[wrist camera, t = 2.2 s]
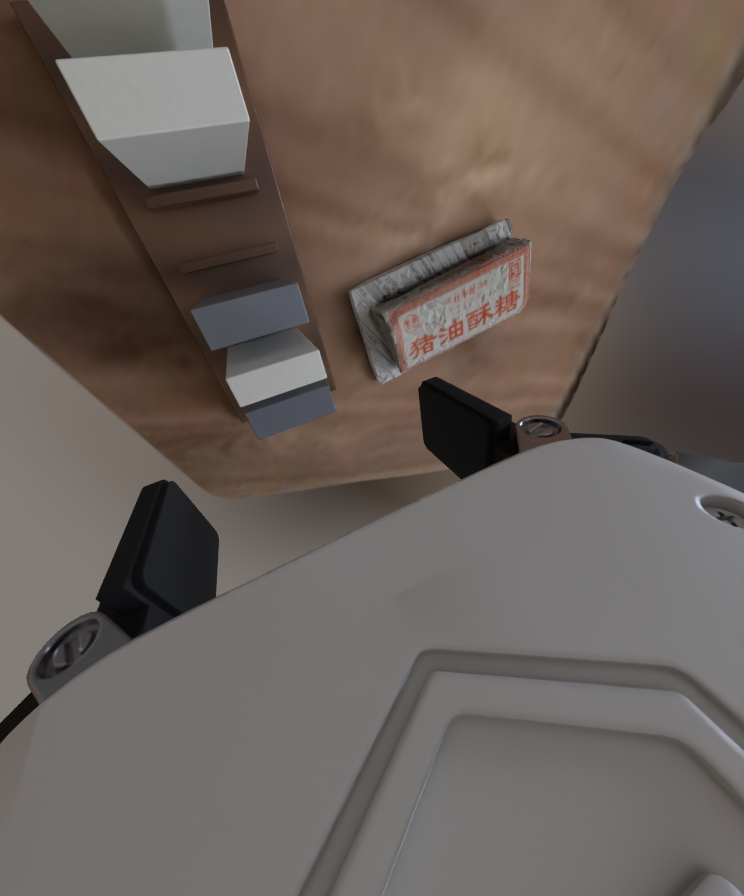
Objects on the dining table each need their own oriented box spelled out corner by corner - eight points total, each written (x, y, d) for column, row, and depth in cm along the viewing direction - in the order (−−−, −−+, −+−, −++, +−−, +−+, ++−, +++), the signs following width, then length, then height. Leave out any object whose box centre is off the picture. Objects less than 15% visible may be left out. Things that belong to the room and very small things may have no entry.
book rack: (21, 15, 14) (-9, -19, 12) (223, 6, 16) (221, -24, 14) (241, 418, 28) (242, 428, 27) (333, 386, 30) (339, 393, 29)
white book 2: (128, 145, 17) (52, 58, 10) (230, 131, 18) (227, 45, 11) (150, 190, 18) (97, 140, 11) (244, 174, 19) (250, 121, 12)
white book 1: (81, 49, 15) (-59, -150, 8) (200, 41, 16) (173, -136, 9) (109, 107, 16) (11, -19, 9) (218, 95, 17) (207, -23, 10)
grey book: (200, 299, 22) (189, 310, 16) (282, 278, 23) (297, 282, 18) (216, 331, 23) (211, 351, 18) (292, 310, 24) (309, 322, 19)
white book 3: (227, 346, 24) (224, 379, 17) (295, 326, 25) (318, 349, 18) (238, 368, 25) (240, 408, 18) (302, 348, 26) (327, 378, 19)
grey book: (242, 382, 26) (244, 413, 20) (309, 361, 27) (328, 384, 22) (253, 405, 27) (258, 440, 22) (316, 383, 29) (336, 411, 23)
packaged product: (542, 208, 24) (535, 322, 31) (501, 216, 28) (502, 316, 34) (361, 293, 22) (394, 397, 28) (343, 289, 26) (375, 382, 32)
